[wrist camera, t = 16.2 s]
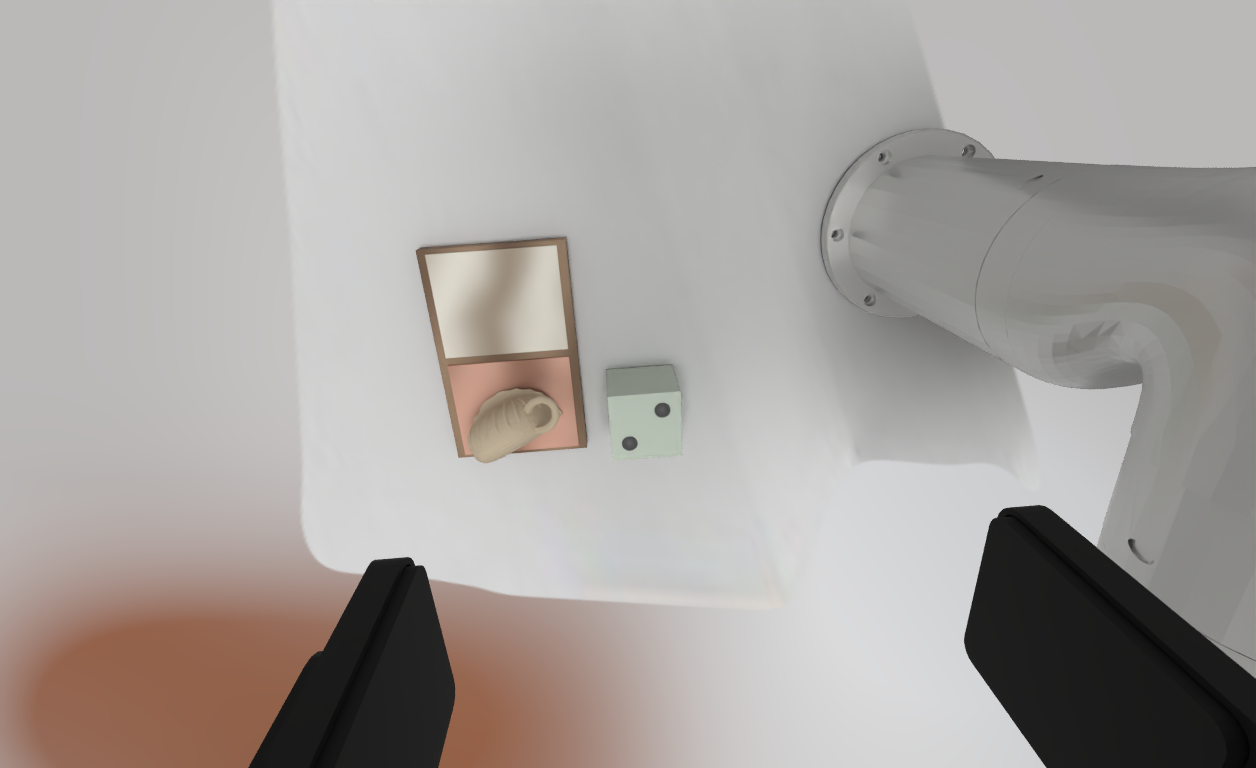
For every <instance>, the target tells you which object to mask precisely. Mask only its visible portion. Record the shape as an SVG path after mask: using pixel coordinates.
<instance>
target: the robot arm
mask: <svg viewBox="0 0 1256 768" xmlns="http://www.w3.org/2000/svg"><path fill="white" fill-rule="evenodd" d="M963 149H964V152H963V154H962V151H963ZM880 154H882V156H883V157H882V159H881V161H879V155H880ZM834 230H835V231H836V234H835V236H834V237H831V235H832V232H833V231H834ZM821 244H822V256H823V260H824V263H825V267H826V270H827V273H828V274H829V276H830V278H831V280H832V282H833V284H834V285H835V287H836V288H837V289H838V290H839V291H840V292H841V294H842V295H843V296H844V297H845V298H847V299H848V300H849V301H851V302H852V303H853V304H855V305H856V306H858V307H860V308H861V309H863V310H865V311H867V312H870V313H873V314H876V315H879V316H884V317H893V318H903V317H914V316H918V315H921V316H923V317H924V318H926V319H928V320H930V321H932V322H933V323H935V324H937V325H939V326H941V327H942V328H944V329H946V330H948V331H950V332H951V333H953V334H955V335H957V336H958V337H960V338H962V339H964V340H966V341H967V342H969V343H971V344H973V345H975V346H976V347H978V348H980V349H982V350H984V351H985V352H987V353H989V354H991V355H993V356H994V357H996V358H998V359H1000V360H1002V361H1004V362H1005V363H1007V364H1009V365H1011V366H1013V367H1015V368H1017V369H1019V370H1021V371H1022V372H1024V373H1026V374H1028V375H1030V376H1033V377H1035V378H1037V379H1040V380H1042V381H1045V382H1048V383H1052V384H1055V385H1059V386H1063V387H1070V388H1080V389H1106V388H1115V387H1123V386H1131V385H1136V384H1141V383H1142V392H1141V396H1140V401H1139V405H1138V408H1137V411H1136V415H1135V418H1134V421H1133V424H1132V427H1131V438H1130V441H1129V444H1128V447H1127V451H1126V454H1125V457H1124V460H1123V463H1122V466H1121V469H1120V472H1119V476H1118V479H1117V482H1116V485H1115V488H1114V491H1113V494H1112V497H1111V500H1110V504H1109V507H1108V510H1107V513H1106V516H1105V519H1104V523H1103V528H1102V531H1101V534H1100V537H1099V541H1098V544H1097V547H1096V546H1094V545H1093V544H1092V543H1091V542H1089V541H1088V540H1087V539H1086V538H1085V537H1083V536H1082V535H1081V534H1080V533H1079V532H1077V531H1076V530H1075V529H1074V528H1073V527H1071V526H1070V525H1069V524H1067V523H1066V522H1065V521H1064V520H1063V519H1062V518H1060V517H1059V516H1058V515H1057V514H1056V513H1054V512H1053V511H1052V510H1050V509H1049V508H1047V507H1045V506H1041V505H1035V506H1024V507H1011V508H1005V509H1003V510H1002V511H1001V512H1000V513H999V515H998V517H997V518H994V519H993V520H992V521H991V523H990V525H989V530H988V534H987V539H986V543H985V547H984V552H983V556H982V561H981V565H980V570H979V574H978V578H977V583H976V587H975V592H974V596H973V601H972V605H971V610H970V614H969V618H968V624H967V628H966V632H965V637H964V643H965V649H966V652H967V654H968V657H969V659H970V660H971V662H972V663H973V665H974V666H975V668H976V669H977V671H978V672H979V673H980V675H981V676H982V678H983V679H984V681H985V682H986V683H987V685H988V686H989V687H990V689H991V690H992V692H993V693H994V695H995V696H996V697H997V699H998V700H999V702H1000V703H1001V704H1002V706H1003V707H1004V709H1005V710H1006V711H1007V713H1008V714H1009V715H1010V717H1011V718H1012V720H1013V721H1014V723H1015V724H1016V726H1017V727H1018V728H1019V730H1020V731H1021V733H1022V734H1023V735H1024V737H1025V738H1026V739H1027V741H1028V742H1029V744H1030V745H1031V747H1032V748H1033V749H1034V751H1035V752H1036V754H1037V755H1038V757H1039V758H1040V759H1041V761H1042V762H1043V764H1044V765H1045V766H1046V768H1256V167H1248V168H1177V167H1151V166H1130V165H1098V164H1081V163H1080V164H1079V163H1063V162H1045V161H1027V160H1008V159H995V158H994V157H993V155H992V154H991V153H990V152H989V151H988V150H987V149H986V148H985V147H984V146H983V145H982V144H981V143H980V142H978V141H976V140H974V139H973V138H971V137H969V136H967V135H965V134H962V133H958V132H955V131H951V130H944V129H923V130H913V131H910V132H906V133H902V134H899V135H895V136H893V137H891V138H889V139H887V140H885V141H883V142H881V143H879V144H877V145H876V146H875V147H873V148H872V149H871V150H869V151H868V152H866V153H865V154H864V155H862V156H861V157H860V158H859V159H858V160H857V161H856V162H855V163H854V164H853V165H852V166H851V167H850V168H849V169H848V171H847V172H846V174H845V175H844V176H843V178H842V179H841V181H840V182H839V183H838V185H837V187H836V189H835V191H834V193H833V195H832V197H831V199H830V201H829V203H828V206H827V209H826V213H825V216H824V220H823V226H822V235H821ZM867 296H868V298H867V299H866V300H865V297H867ZM454 700H455V683H454V678H453V674H452V670H451V667H450V662H449V659H448V655H447V651H446V647H445V643H444V639H443V635H442V631H441V628H440V623H439V620H438V616H437V612H436V608H435V604H434V600H433V596H432V593H431V589H430V584H429V581H428V577H427V573H426V570H425V568H424V566H421V565H420V566H415V564H414V561H413V560H412V559H411V558H409V557H405V558H393V559H381V560H374V561H372V562H371V563H370V565H369V566H368V568H367V570H366V571H365V573H364V575H363V577H362V579H361V581H360V583H359V585H358V586H357V589H356V590H355V592H354V594H353V596H352V598H351V600H350V601H349V603H348V605H347V607H346V609H345V611H344V613H343V614H342V616H341V618H340V620H339V622H338V624H337V626H336V628H335V629H334V631H333V633H332V635H331V637H330V639H329V641H328V643H327V644H326V646H325V648H324V650H323V651H320V652H317V653H316V654H314V655H313V656H312V657H311V658H310V659H309V661H308V662H307V664H306V665H305V667H304V668H303V670H302V672H301V674H300V676H299V677H298V679H297V681H296V683H295V685H294V686H293V688H292V690H291V692H290V694H289V695H288V697H287V699H286V701H285V703H284V705H283V706H282V708H281V710H280V712H279V713H278V715H277V717H276V719H275V721H274V723H273V724H272V726H271V728H270V730H269V731H268V733H267V735H266V737H265V739H264V740H263V742H262V744H261V746H260V748H259V750H258V751H257V753H256V755H255V757H254V759H253V760H252V762H251V764H250V766H249V768H438V766H439V762H440V758H441V754H442V750H443V746H444V742H445V738H446V734H447V730H448V727H449V722H450V719H451V715H452V711H453V706H454Z"/></svg>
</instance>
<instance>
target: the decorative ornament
mask: <svg viewBox="0 0 1256 768" xmlns="http://www.w3.org/2000/svg"><path fill="white" fill-rule="evenodd" d="M562 414H563V413H562V412H561V410H560V409H559V408H558V406H557V404H556V402H555V401H554V400H552V399H551V398H549V397H547V396H545V395H544V394H543V393H541V392H536V391H534V390H532V389H526V390H521V389H518V388H516V389H513V390H509V391H501V392H498V393H497V394H496V395H495V396H493V397H492V398H490V399H488V400H486V401H485V402H484V403H483V404H482V406H481V408H480V412H479V414H478V415H477V416H475V417H474V424H473V426H472V427H471V429H470V431H469V434H468V441H467V443H468V447H469V449H470V451H471V452H472V454H473V456H474V457H475V458H476V459H477V460H478V461H480V462H482V463H489V462H493V461H496V460H498V459H500V458H502V457H504V456H506V455H508V454H510V453H512V452H514V451H516V450H517V449H519V448H521V447H522V446H524V445H526V444H528V443H529V442H531V441H533V440H534V439H536V438H537V437H539V436H540V435H542V434H543V433H546V432H548V431H550V430H552V429H553V428H554V427H555V426H556V424H557V423H558V420H559V418H560V416H561V415H562Z"/></svg>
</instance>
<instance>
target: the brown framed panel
mask: <svg viewBox="0 0 1256 768" xmlns="http://www.w3.org/2000/svg"><path fill="white" fill-rule="evenodd" d="M416 254H417V259H418V264H419V269H420V273H421V278H422V283H423V288H424V293H425V297H426V302H427V307H428V312H429V317H430V322H431V326H432V331H433V336H434V341H435V346H436V350H437V355H438V360H439V365H440V370H441V375H442V379H443V384H444V389H445V394H446V399H447V403H448V408H449V413H450V418H451V423H452V428H453V432H454V437H455V442H456V447H457V452H458V457H459V458H460V457H473V454H472V452H471V451H470V449H469V447H468V443H467V441H468V434H469V431H470V429H471V427H472V426H473V424H474V417H475V416H477V415H478V414H479V412H480V408H481V406H482V404H483V403H484V402H485V401H486V400H488V399H490V398H492V397H493V396H495V395H496V394H497V393H498V392H501V391H509V390H513V389H516V388H518V389H521V390H526V389H532V390H534V391H536V392H541V393H543V394H544V395H545V396H547V397H549V398H551V399H552V400H554V401H555V402H556V404H557V406H558V408H559V409H560V410H561V412H562V413H563V414H562V415H561V416H560V418H559V420H558V423H557V424H556V426H555V427H554V428H553V429H552V430H550V431H548V432H546V433H543V434H542V435H540V436H539V437H537V438H536V439H534V440H533V441H531V442H529V443H528V444H526V445H524V446H522V447H521V448H519V449H517V450H516V451H514V452H512V453H523V452H536V451H548V450H561V449H574V448H586V447H587V435H586V425H585V416H584V406H583V397H582V387H581V377H580V368H579V358H578V349H577V339H576V329H575V320H574V310H573V301H572V291H571V282H570V272H569V262H568V253H567V243H566V237H563V238H549V239H536V240H522V241H508V242H494V243H480V244H467V245H453V246H439V247H425V248H419V249H417V250H416ZM510 454H511V453H510Z"/></svg>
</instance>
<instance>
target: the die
mask: <svg viewBox="0 0 1256 768" xmlns="http://www.w3.org/2000/svg"><path fill="white" fill-rule="evenodd" d="M606 376H607V400H608V412H609V423H610V435H611V447H612V458H613V461H616V460H628V459H641V458H653V457H666V456H678V455H683V452H682V419H681V391H680V388H679V385H678V381H677V378H676V375H675V372H674V369H673V366H672V365H660V366H647V367H634V368H621V369H608V370H606Z"/></svg>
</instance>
